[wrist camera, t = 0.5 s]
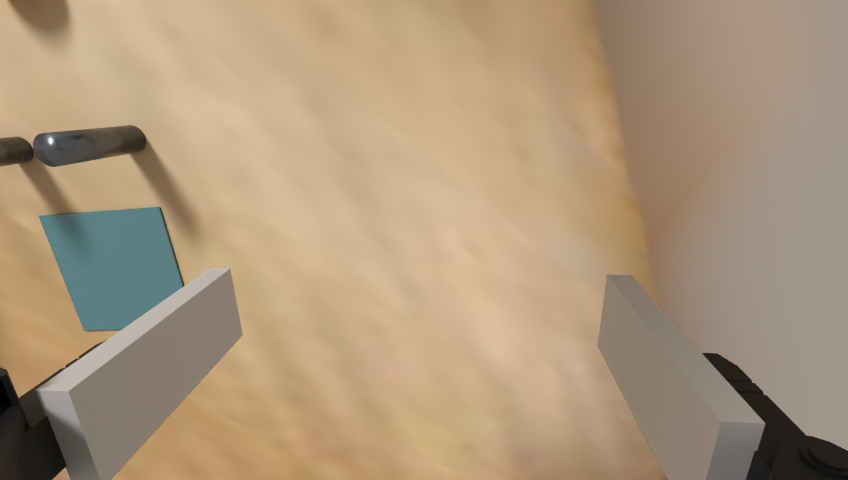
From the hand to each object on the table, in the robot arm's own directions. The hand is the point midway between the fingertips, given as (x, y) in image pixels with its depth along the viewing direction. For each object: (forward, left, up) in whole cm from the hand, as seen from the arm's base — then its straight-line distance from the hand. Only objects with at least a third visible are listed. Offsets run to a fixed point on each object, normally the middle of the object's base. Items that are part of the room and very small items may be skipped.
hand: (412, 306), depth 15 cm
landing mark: (+8, -37, -27) cm, 46 cm away
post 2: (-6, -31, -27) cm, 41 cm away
